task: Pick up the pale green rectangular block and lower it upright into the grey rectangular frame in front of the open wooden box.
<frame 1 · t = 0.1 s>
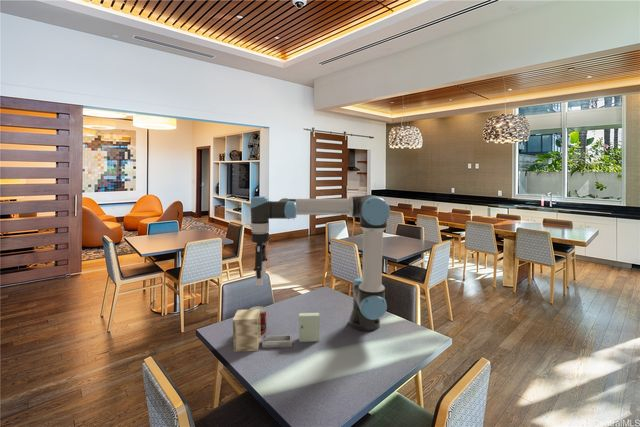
hand: (261, 280, 143), 28 cm above the table, fingers open, 13 cm apart
open wooden box: (247, 344, 142), on the table
canned food: (258, 331, 155), on the table
grey rectangular frame: (277, 344, 143), on the table
pale green rectangular block: (309, 339, 147), on the table
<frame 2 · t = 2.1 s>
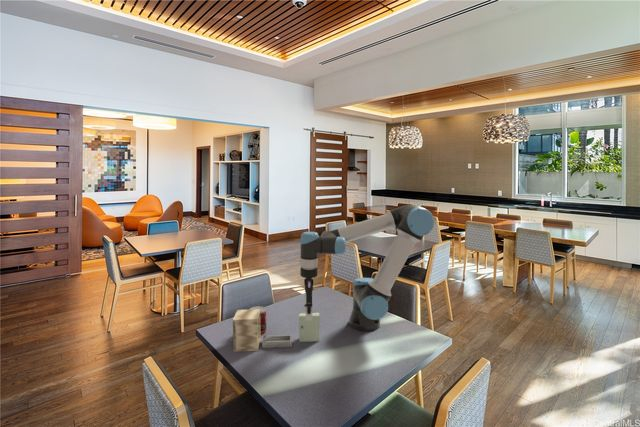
hand: (308, 313, 146), 12 cm above the table, fingers open, 13 cm apart
nothing on the table moved.
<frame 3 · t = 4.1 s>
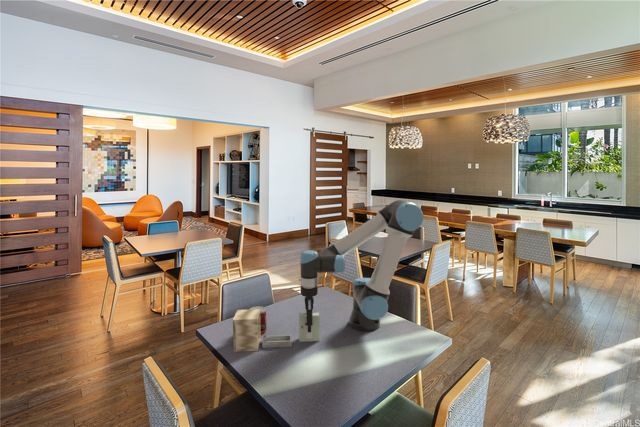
hand: (309, 335, 147), 2 cm above the table, fingers closed on pale green rectangular block, 3 cm apart
pale green rectangular block: (309, 339, 147), on the table, touching gripper
everything else where it was.
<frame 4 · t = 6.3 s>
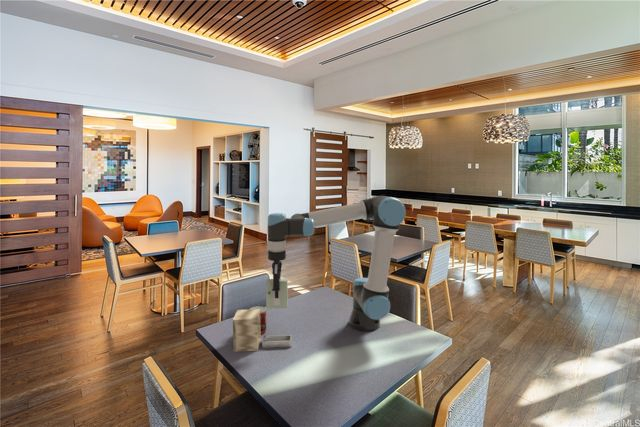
hand: (277, 302, 141), 19 cm above the table, fingers closed on pale green rectangular block, 3 cm apart
pale green rectangular block: (277, 306, 141), point 17 cm above the table, touching gripper
everything else where it was.
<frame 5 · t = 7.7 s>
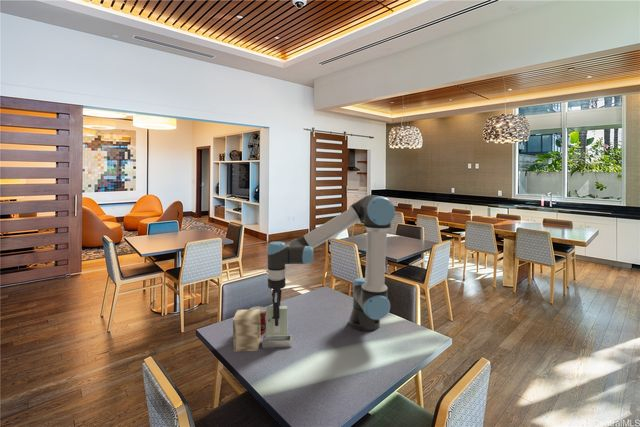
hand: (277, 329, 142), 7 cm above the table, fingers closed on pale green rectangular block, 3 cm apart
pale green rectangular block: (277, 333, 143), point 5 cm above the table, touching gripper
everything else where it was.
when the fingers open (4 cm above the table, at t = 8.8 s): pale green rectangular block drops 2 cm, resting in grey rectangular frame.
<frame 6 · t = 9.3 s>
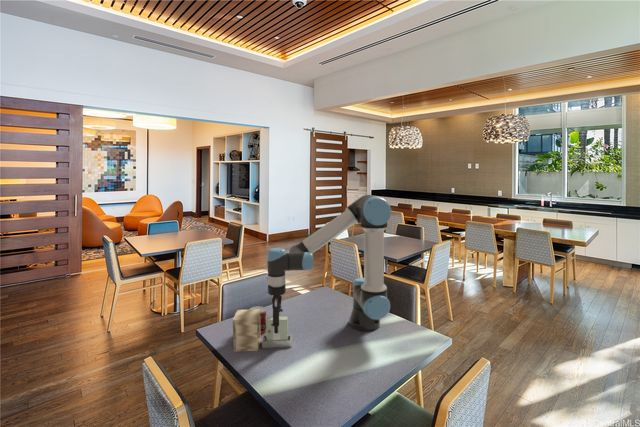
hand: (277, 332, 143), 5 cm above the table, fingers open, 11 cm apart
pale green rectangular block: (277, 343, 143), resting in grey rectangular frame
everything else where it was.
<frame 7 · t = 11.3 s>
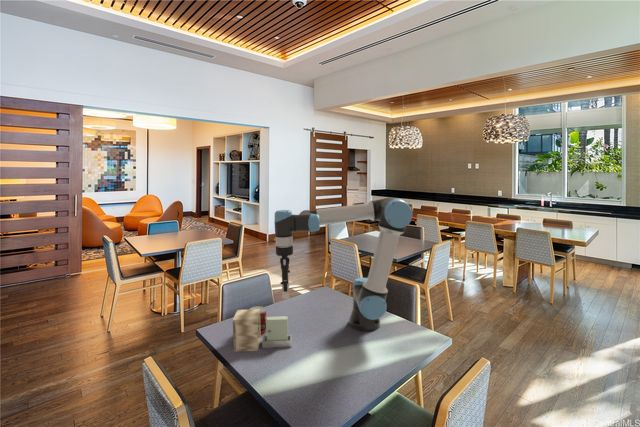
hand: (286, 292, 145), 22 cm above the table, fingers open, 13 cm apart
nothing on the table moved.
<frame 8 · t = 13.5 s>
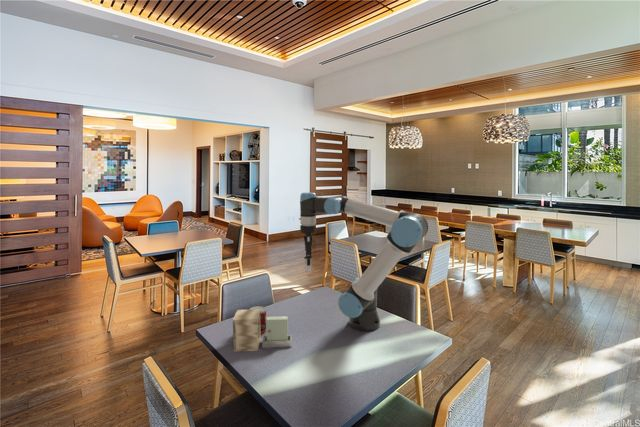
hand: (308, 267, 159), 29 cm above the table, fingers open, 13 cm apart
nothing on the table moved.
at the end: pale green rectangular block 0.0 cm off-centre on the grey rectangular frame, point 0.0 cm above the grey rectangular frame's base; pale green rectangular block tilted 0°; the gripper is holding nothing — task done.
